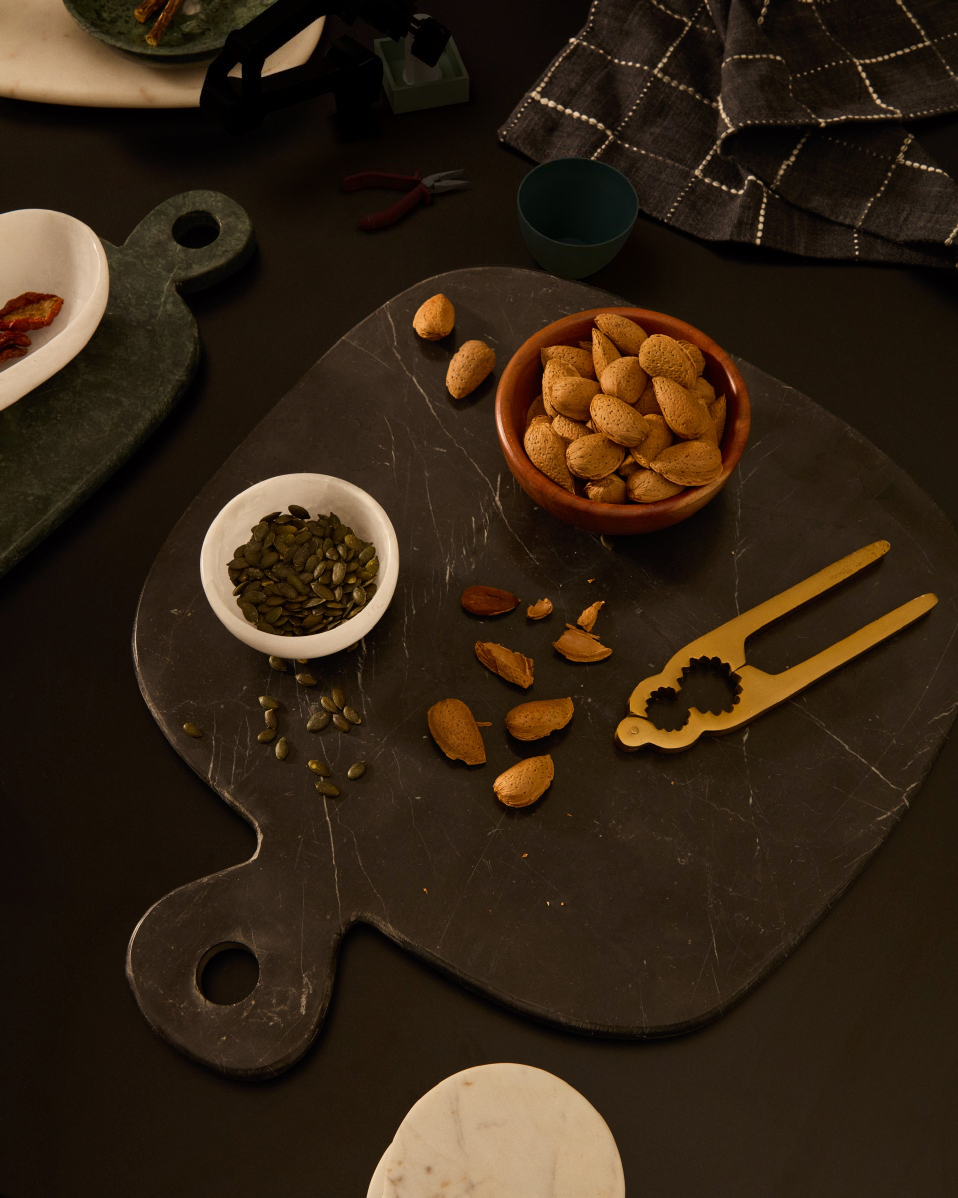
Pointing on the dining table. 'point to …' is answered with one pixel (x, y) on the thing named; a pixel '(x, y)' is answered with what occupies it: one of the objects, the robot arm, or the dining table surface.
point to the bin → (427, 93)
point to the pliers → (415, 184)
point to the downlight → (418, 63)
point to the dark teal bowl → (575, 215)
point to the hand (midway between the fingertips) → (425, 39)
